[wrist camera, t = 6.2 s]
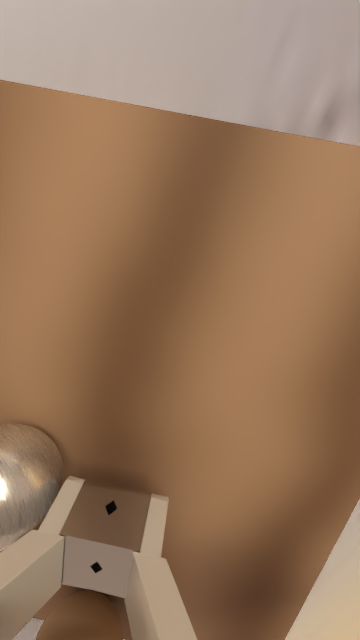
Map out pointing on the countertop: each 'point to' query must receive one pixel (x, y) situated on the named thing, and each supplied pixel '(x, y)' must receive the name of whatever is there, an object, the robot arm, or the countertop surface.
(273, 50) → the countertop surface
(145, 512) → the robot arm
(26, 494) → the steel ball
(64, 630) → the cork ball
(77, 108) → the board
